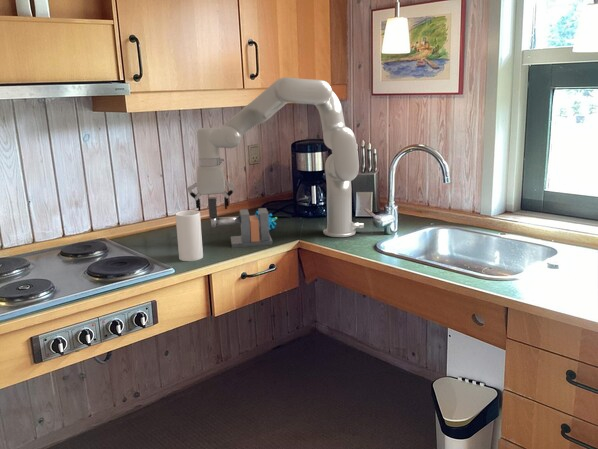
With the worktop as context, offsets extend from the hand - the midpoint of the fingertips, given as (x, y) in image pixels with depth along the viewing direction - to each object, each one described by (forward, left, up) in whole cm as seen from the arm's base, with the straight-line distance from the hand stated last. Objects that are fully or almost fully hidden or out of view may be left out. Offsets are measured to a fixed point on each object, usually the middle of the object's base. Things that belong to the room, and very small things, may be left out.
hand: (212, 209), depth 203 cm
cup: (+8, +13, -14) cm, 21 cm away
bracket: (-14, 0, -14) cm, 19 cm away
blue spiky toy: (-21, -19, -14) cm, 32 cm away
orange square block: (-15, 0, -8) cm, 17 cm away
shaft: (-5, 0, -7) cm, 8 cm away
